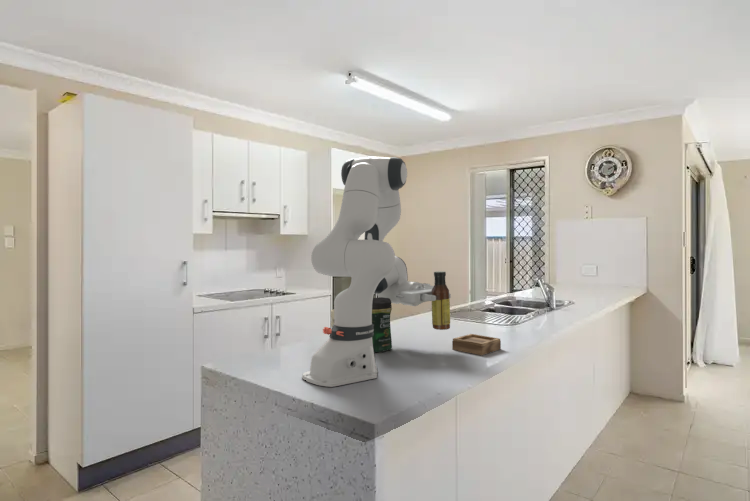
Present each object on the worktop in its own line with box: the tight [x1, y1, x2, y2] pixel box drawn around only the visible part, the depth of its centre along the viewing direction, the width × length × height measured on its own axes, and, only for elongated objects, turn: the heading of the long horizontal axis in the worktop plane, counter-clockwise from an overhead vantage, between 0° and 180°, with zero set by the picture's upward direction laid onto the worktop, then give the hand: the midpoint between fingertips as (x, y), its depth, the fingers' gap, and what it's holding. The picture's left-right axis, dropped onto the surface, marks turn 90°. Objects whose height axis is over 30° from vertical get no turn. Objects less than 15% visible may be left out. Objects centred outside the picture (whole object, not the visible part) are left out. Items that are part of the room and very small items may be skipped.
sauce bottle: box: [431, 270, 451, 331], centre depth 160 cm, size 6×6×20 cm
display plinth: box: [452, 333, 502, 356], centre depth 162 cm, size 12×12×4 cm
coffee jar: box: [372, 297, 393, 353], centre depth 162 cm, size 10×8×19 cm
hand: (442, 297), depth 159 cm, fingers closed on sauce bottle, 6 cm apart
